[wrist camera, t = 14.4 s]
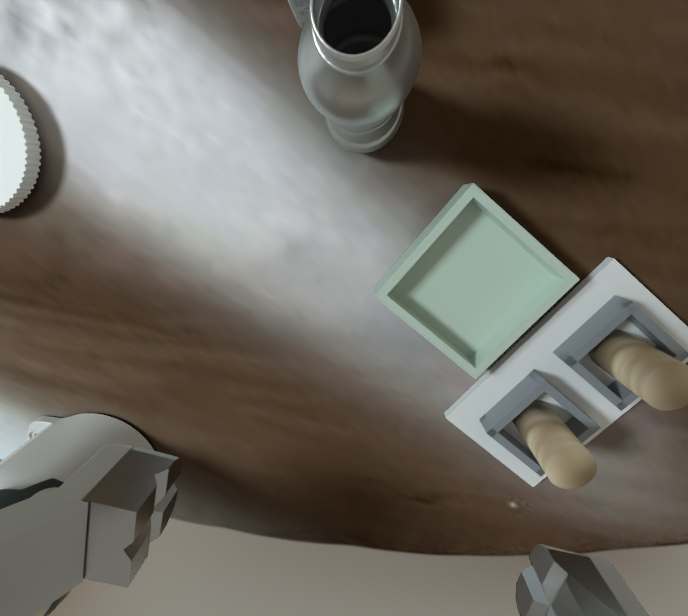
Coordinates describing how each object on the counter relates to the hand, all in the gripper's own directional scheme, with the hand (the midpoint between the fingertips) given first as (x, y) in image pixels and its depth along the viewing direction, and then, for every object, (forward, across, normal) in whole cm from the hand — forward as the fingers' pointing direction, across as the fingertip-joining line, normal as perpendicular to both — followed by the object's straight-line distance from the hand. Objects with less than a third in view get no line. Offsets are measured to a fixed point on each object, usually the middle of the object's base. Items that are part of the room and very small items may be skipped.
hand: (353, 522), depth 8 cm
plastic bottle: (+30, +3, -14) cm, 33 cm away
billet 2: (+28, -25, +1) cm, 38 cm away
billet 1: (+29, -21, +10) cm, 37 cm away
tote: (+30, -10, -2) cm, 32 cm away
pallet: (+30, -23, +5) cm, 38 cm away
